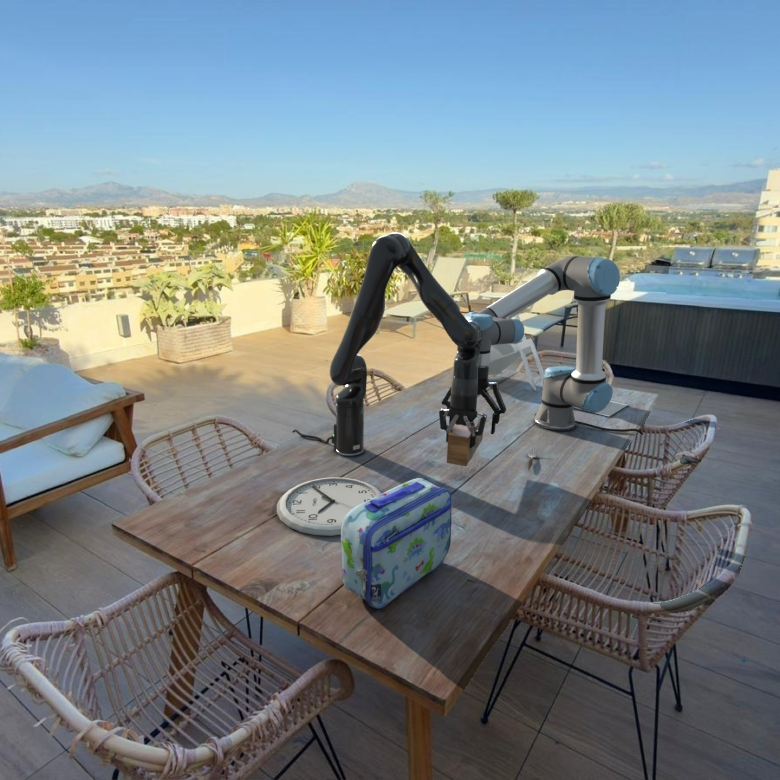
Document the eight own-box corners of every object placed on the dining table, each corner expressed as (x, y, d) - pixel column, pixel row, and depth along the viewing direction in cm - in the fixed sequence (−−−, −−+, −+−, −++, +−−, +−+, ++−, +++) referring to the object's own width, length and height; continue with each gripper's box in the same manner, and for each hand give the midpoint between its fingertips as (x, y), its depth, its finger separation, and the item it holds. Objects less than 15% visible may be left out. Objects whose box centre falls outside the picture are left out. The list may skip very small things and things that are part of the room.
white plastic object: (482, 419, 265) (461, 396, 241) (463, 346, 287) (443, 319, 263) (553, 395, 253) (539, 368, 228) (528, 321, 275) (513, 290, 250)
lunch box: (370, 622, 101) (370, 527, 94) (335, 595, 108) (333, 505, 102) (455, 565, 118) (460, 481, 112) (420, 544, 125) (423, 465, 119)
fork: (524, 470, 165) (524, 465, 164) (529, 451, 179) (529, 446, 179) (532, 472, 164) (533, 466, 163) (537, 452, 178) (537, 447, 178)
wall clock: (392, 527, 129) (268, 531, 127) (391, 533, 130) (269, 537, 127) (383, 473, 158) (282, 475, 155) (383, 478, 158) (282, 480, 156)
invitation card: (608, 416, 214) (573, 407, 224) (608, 416, 214) (573, 408, 224) (628, 404, 229) (594, 396, 238) (628, 405, 229) (594, 397, 238)
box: (464, 436, 173) (466, 411, 170) (482, 439, 171) (484, 413, 168) (446, 462, 154) (448, 434, 151) (466, 466, 152) (468, 437, 149)
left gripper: (436, 391, 149) (433, 445, 154) (486, 398, 144) (482, 454, 149) (443, 384, 155) (440, 436, 160) (491, 390, 150) (487, 444, 155)
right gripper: (434, 363, 162) (430, 427, 168) (515, 372, 153) (508, 439, 159) (441, 357, 169) (437, 419, 175) (519, 367, 160) (512, 431, 166)
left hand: (460, 445), depth 155 cm, fingers closed on box, 6 cm apart
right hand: (471, 429), depth 167 cm, fingers open, 13 cm apart
